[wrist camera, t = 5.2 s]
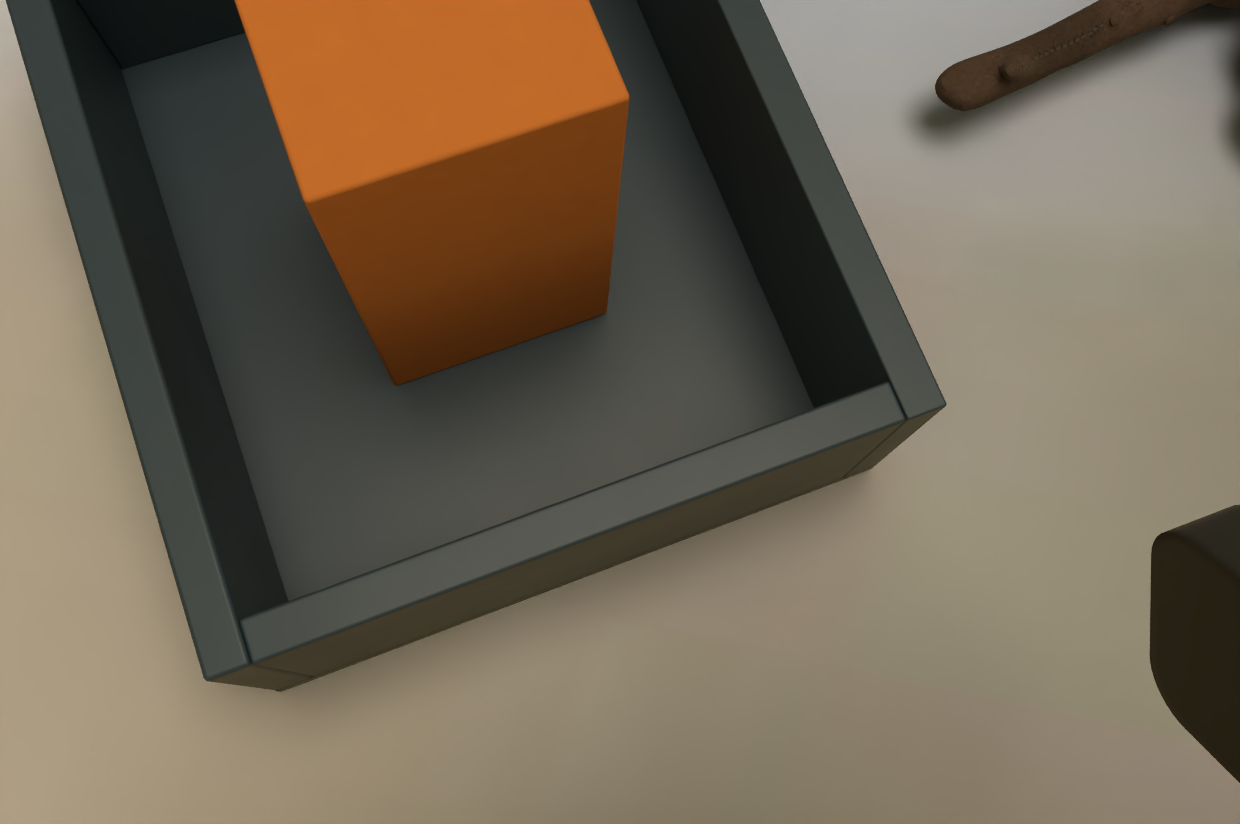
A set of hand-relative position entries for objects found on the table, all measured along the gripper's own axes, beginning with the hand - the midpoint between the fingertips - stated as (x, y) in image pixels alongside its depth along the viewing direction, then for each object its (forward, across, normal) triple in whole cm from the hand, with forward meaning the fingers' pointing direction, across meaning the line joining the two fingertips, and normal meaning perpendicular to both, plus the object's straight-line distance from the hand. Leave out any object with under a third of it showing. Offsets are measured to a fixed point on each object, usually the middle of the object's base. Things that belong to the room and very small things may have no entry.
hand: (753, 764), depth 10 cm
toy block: (+18, 0, -2) cm, 19 cm away
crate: (+19, 0, -2) cm, 19 cm away
